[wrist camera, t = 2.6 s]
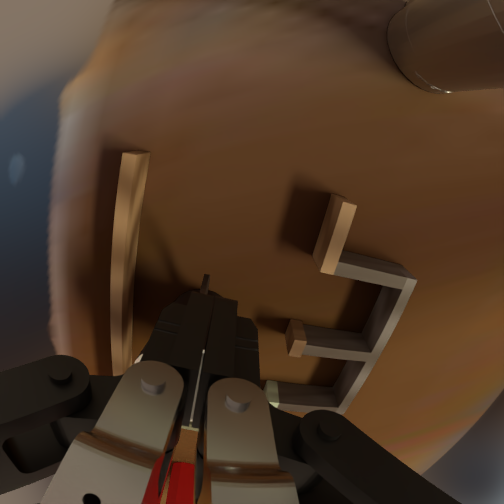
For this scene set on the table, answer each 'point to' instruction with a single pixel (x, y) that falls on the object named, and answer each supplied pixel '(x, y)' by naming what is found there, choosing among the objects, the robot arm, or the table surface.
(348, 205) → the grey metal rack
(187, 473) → the book
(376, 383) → the table surface
